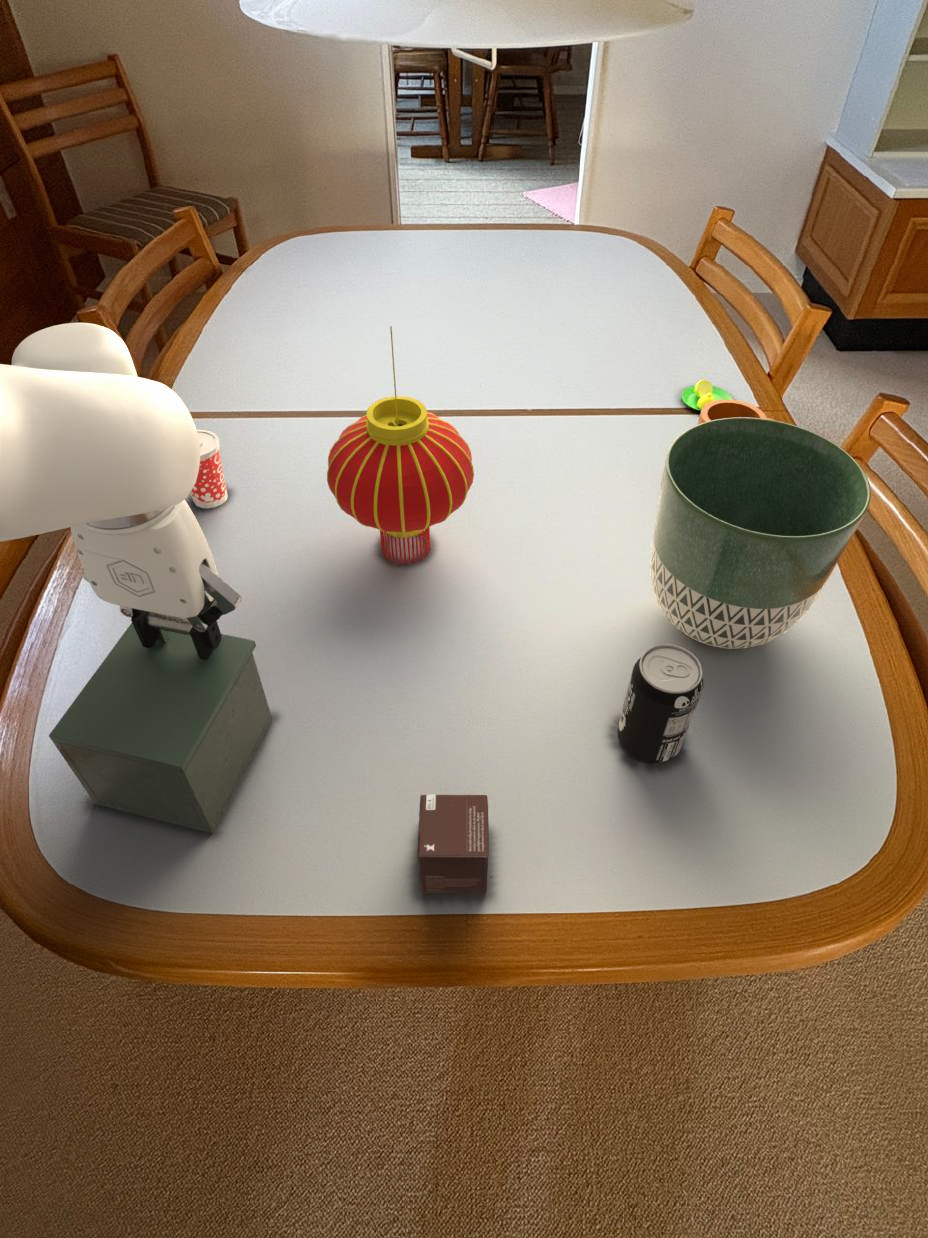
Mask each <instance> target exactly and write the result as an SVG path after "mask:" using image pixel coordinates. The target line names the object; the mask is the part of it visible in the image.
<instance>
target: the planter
mask: <svg viewBox="0 0 928 1238" xmlns="http://www.w3.org/2000/svg"><path fill="white" fill-rule="evenodd" d="M774 420H775V419H773V420H769V419H761V418H747V417H737V418H724V419H717V420H712V421H708V422H705V423H702V424H699V425H698V424H696V425H694V426H692V427H690V428H688V429H687V430H685V431H683V432H682V433H680V435H678V436H677V437H676V438H675V439H674V440H673V442H671V444H670V446H669V448H668V450H667V451H666V456H665V460H664V465H663V471H662V475H661V481H660V488H659V496H658V501H657V507H656V512H655V518H654V525H653V533H652V538H651V545H650V552H649V575H650V577H649V578H650V584H651V588H652V592H653V595H654V598H655V600H656V603H657V605H658V607H659V608H660V611H661V612H662V613H663V615H664V616H665V617H666V619H667V620H668V621H669V622H670V623H671V624H672V625H673V626H674V627H675V628H676V629H678V630H679V631H680V632H681V633H683V634H684V635H685V636H687V637H689V638H690V639H693V640H695V641H697V642H698V643H702V644H705V645H707V646H709V647H715V648H720V649H729V650H733V649H734V650H735V649H738V650H739V649H748V648H753V647H758V646H761V645H765V644H767V643H770V642H772V641H774V640H776V639H778V638H779V637H781V636H782V635H784V634H785V633H787V632H789V631H790V630H791V629H792V628H793V627H794V626H795V625H796V624H798V622H799V621H800V620H802V618H803V617H804V616H805V615H806V614H807V613H808V611H809V610H810V609H811V608H812V606H813V605H814V603H815V602H816V600H817V599H818V597H819V595H820V593H821V592H822V590H823V588H824V586H825V585H826V583H827V581H828V580H829V578H830V577H831V575H832V573H833V571H834V570H835V568H836V566H837V564H838V563H839V560H840V559H841V557H842V555H843V554H844V552H845V550H846V548H847V546H848V545H849V543H850V542H851V540H852V538H853V536H854V535H855V533H856V532H857V530H858V528H859V527H860V524H861V523H862V521H863V519H864V517H865V515H866V513H867V511H868V509H869V506H870V504H871V499H872V489H871V484H870V481H869V479H868V476H867V474H866V472H865V471H864V470H863V468H862V467H861V465H860V464H859V463H858V462H857V460H856V459H855V458H854V457H853V456H852V455H850V453H848V452H847V451H846V450H845V449H844V448H842V447H841V446H839V445H838V444H836V443H835V442H834V441H832V440H831V439H829V438H826V437H824V436H822V435H821V434H818V433H816V432H814V431H811V430H809V429H807V428H803V427H801V426H798V425H795V424H791V423H788V422H783V421H779V420H775V421H774Z"/></svg>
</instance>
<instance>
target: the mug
mask: <svg viewBox="0 0 928 1238" xmlns="http://www.w3.org/2000/svg"><path fill="white" fill-rule="evenodd" d="M732 399H733V398H732ZM732 399H721V400H714V401H712V402H709V403H707V404H706V405H705V406H703V407H702V410H701V411H700V413H699V418H698V422H697V425H699V424H702V423H705V422H708V421H712V420H717V419H724V418H737V417H747V418H761V419H769V420H774V421H776V420H775V419H774V418H770V417H767V415H766V414H765V412H763V410H761V409H760V408H759V407H757V406H755V405H754V404H751V403H749V402H746V401H742V400H738V399H733V400H732Z"/></svg>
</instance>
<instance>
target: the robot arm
mask: <svg viewBox="0 0 928 1238" xmlns="http://www.w3.org/2000/svg"><path fill="white" fill-rule="evenodd" d="M12 354H13V355H12V358H11V364H3V363H0V542H1V543H2V542H8V541H13V540H19V539H24V538H28V537H33V536H37V535H43V534H46V533H51V532H56V531H61V530H64V529H69V528H70V533H71V536H72V541H73V543H74V546H75V550H76V553H77V556H78V558H79V561H80V564H81V566H82V569H83V571H84V572H83V573H82V578H83V580H85V581H86V582H87V583H89V585H90V587H91V589H92V591H93V592H94V594H95V596H97V598H98V599H100V600H102V601H103V602H106V603H109V604H112V605H116V606H119V611H120V614H121V615H123V616H125V618H130V621H131V623H132V624H133V626H134V628H135V630H136V632H137V635H138V637H139V639H140V641H141V643H142V646H143V647H146V648H150V647H152V646H153V645H154V643H155V642H156V640H157V639H158V637H157V635H156V633H155V630H154V628H150V627H148V626H147V625H146V623H145V618H146V614H147V612H153V613H159V614H164V615H169V616H175V617H183V618H187V619H188V621H189V622H190V623H191V625H192V626H193V627H192V628H191V630H190V635H191V638H192V640H193V643H194V646H195V648H196V651H197V654H198V656H199V657H200V659H203V660H207V659H208V658H209V656H210V655H211V653H212V652H213V650H214V649H216V648H217V647H218V646H219V644H220V642H221V638H222V636H221V634H222V633H221V629H220V627H219V624H218V620H220V619H221V618H222V616H225V615H227V614H229V613H232V612H233V611H235V610H236V609H237V607H238V606H239V604H240V602H241V601H242V596H241V595H240V594H239V593H238V592H237V591H235V589H233V587H231V586H230V585H229V584H228V583H226V581H224V579H222V578H221V577H220V576H219V572H218V569H217V566H216V562H215V560H214V557H213V554H212V551H211V549H210V546H209V544H208V541H207V538H206V537H205V534H204V532H203V530H202V528H201V525H200V523H199V522H198V520H197V518H196V516H195V514H194V513H193V510H192V509H191V508H190V507H191V506H190V505H189V504H188V502H187V501H186V498H187V497H188V496H189V495H190V492H191V490H192V488H193V486H194V484H195V482H196V479H197V476H198V472H199V465H200V445H199V439H198V433H197V430H198V429H197V427H196V424H195V421H194V420H193V417H192V414H191V412H190V411H189V409H188V407H187V406H186V404H185V403H184V401H183V400H182V398H181V397H180V396H178V394H177V393H176V392H175V391H174V390H172V389H171V388H170V387H169V386H168V385H166V384H164V383H162V382H159V381H156V380H152V379H148V378H145V377H140V376H138V374H137V370H136V367H135V364H134V361H133V358H132V356H131V353H130V351H129V348H128V347H127V345H126V343H125V342H124V340H123V339H122V338H121V337H120V336H119V335H118V334H117V333H116V332H114V331H113V330H111V329H110V328H108V327H105V326H102V325H99V324H96V323H90V322H68V323H67V322H66V323H62V324H61V323H60V324H57V325H51V326H49V327H45V328H43V329H40V330H37V331H35V332H33V333H31V334H29V335H28V336H27V337H25V338H24V339H23V340H22V341H21V342H20V343H19V344H18V345H17V347H15V349H14V351H13V353H12Z"/></svg>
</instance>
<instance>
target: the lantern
mask: <svg viewBox="0 0 928 1238" xmlns="http://www.w3.org/2000/svg"><path fill="white" fill-rule="evenodd" d="M389 329H390V342H391V357H392V371H393V373H392V374H393V388H394V396H388V397H384V398H381V399H378V400H376V401H375V402H372V404H371V405H370V406H369V407H368V408H367V410H366V414H365V415H363V416H360V418H359V419H357V421H355V422H354V423H352V424H350V425H348V426H347V427H345V429H343V430H342V431H341V434H339V437H338V439H337V440H336V441H335V442H334V443H333V445H332V447H331V448H330V450H329V453H328V457H327V466H328V467H327V470H326V482H327V486H328V489H329V491H330V492H331V493H332V495H333V496H334V498H335V500H336V501H335V502H336V504H337V505H338V506H339V508H340V509H341V511H343V512H344V513H345V514H346V515H349V516H351V517H352V518H354V520H356V521H357V522H358V523H359V524H360V525H362V526H364V527H367V528H373V529H377V530H379V535H380V536H379V537H380V538H379V539H380V547H381V552H382V554H383V557H386V559H388V560H389V561H390V562H391V561H392V563H395V562H396V564H397V565H398V564H399V563H400V565H402V564H403V562H404V565H407V562H408V564H409V565H411V564H416V562H417V563H418V562H419V561H423V559H425V558H426V557H427V556H428V554H429V553H430V551H431V530H430V528H431V527H432V526H435V525H437V524H442V523H443V522H445V521H446V520H447V519H448V518H449V517H450V515H452V514H453V513H454V512H455V511H457V510H459V509H460V508H461V507H462V506H463V504H464V503H465V501H466V498H467V495H468V492H469V490H471V487H472V485H473V483H474V478H475V470H474V465H473V457H472V456H473V455H472V450H471V449H470V446H469V444H468V443H467V442H466V440H465V439H464V438H463V437H462V436H461V435H460V433H459V431H458V430H457V428H456V427H455V426H454V425H453V424H451V423H450V422H448V421H446V420H443V419H441V418H440V417H439V416H437V415H436V414H435V413H432V412H428V410H427V408H426V406H425V404H423V402H421V401H420V400H418V399H415V398H412V397H407V396H401V395H398V396H397V386H396V372H395V356H394V341H393V327H392V325H390V327H389ZM393 538H394V539H393ZM397 538H398V539H397ZM401 538H402V539H401ZM410 538H411V539H410ZM397 540H398V542H397ZM410 540H411V544H410ZM418 540H419V541H418ZM418 542H419V543H418ZM397 543H398V544H397ZM406 544H407V547H406ZM402 547H403V551H402ZM390 548H391V549H390ZM394 551H395V553H394ZM398 552H399V557H398ZM402 552H403V553H402ZM411 554H412V558H411ZM415 555H416V556H415ZM419 555H420V556H419ZM407 557H408V561H407ZM419 558H420V559H419ZM391 559H392V560H391ZM411 560H412V561H411Z"/></svg>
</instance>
